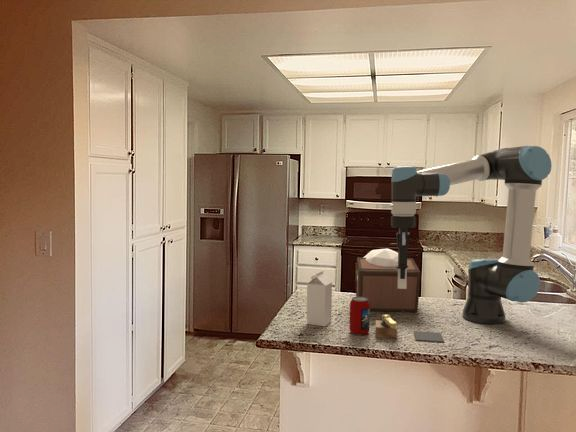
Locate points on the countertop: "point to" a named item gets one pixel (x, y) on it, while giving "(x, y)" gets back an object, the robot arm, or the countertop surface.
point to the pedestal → (385, 330)
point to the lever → (388, 321)
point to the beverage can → (359, 315)
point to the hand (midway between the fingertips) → (402, 288)
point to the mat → (428, 336)
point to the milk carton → (319, 300)
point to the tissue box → (387, 282)
